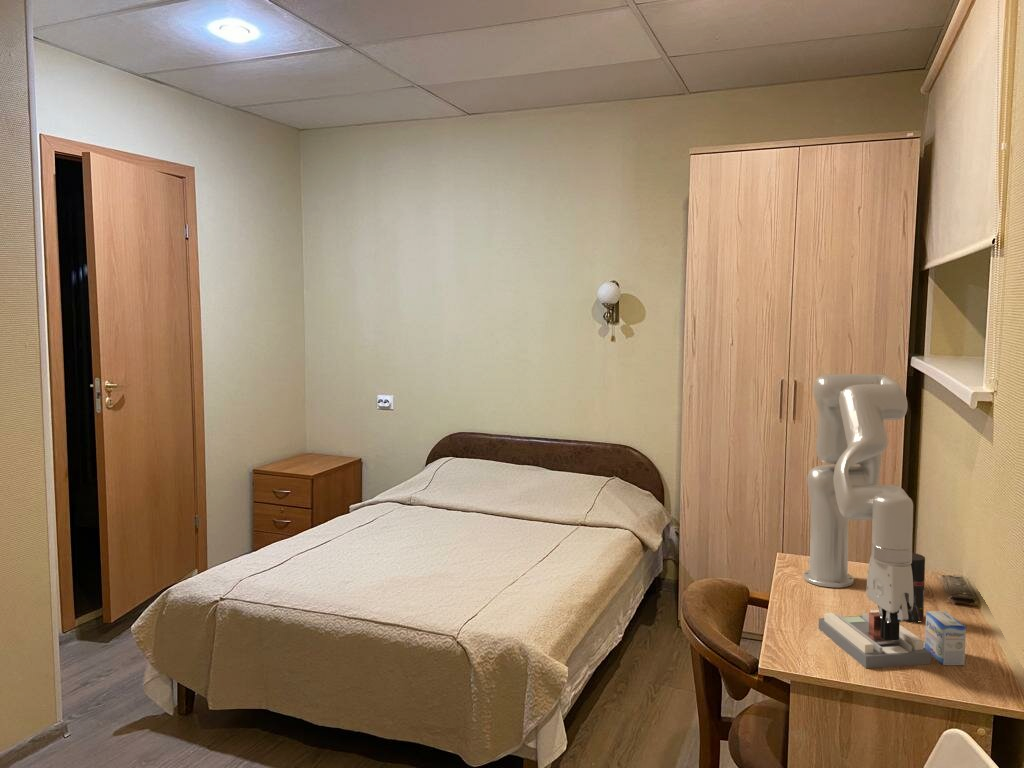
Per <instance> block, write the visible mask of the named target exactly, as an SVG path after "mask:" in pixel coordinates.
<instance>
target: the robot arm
mask: <svg viewBox="0 0 1024 768" xmlns="http://www.w3.org/2000/svg"><path fill="white" fill-rule="evenodd" d="M813 397H814V401H815V403H816V407H817V411H818V420H817V422H818V423H817V432H816V433H817V434H816V445H815V452H816V457H817V458H818V460H820V461H821V462H822V463H825V464H824V465H823V464H822V465H818V466H817V465H816V466H813V467H812V468H811V469H810V470H809V471H808V473H807V478H806V479H807V481H806V482H807V483H806V484H807V490H808V494H809V495H808V497H809V509H810V510H809V511H810V517H809V518H810V523H809V527H810V528H809V533H810V534H809V558H808V560H807V563H809V569H808V570H806V571H804V572H803V579H804V580H805V581H806V582H808V583H810V584H812V585H816V586H819V587H825V588H848V587H850V586H852V585H853V584H854V583H855V582H854V581H855V579H854V577H853V576H852V575H851V574H850V573H848V571H849V570H848V568H849V520H851V521H854V520H855V521H871V522H872V526H871V527H872V528H871V555H870V558H869V562H868V568H867V575H866V597H867V599H868V600H870V602H872V603H873V604H875V605H876V606H877V608H878V610H879V616H880V618H881V631H880V636H881V638H883V639H884V640H886V641H889V640H898V639H899V626H900V625H901V624H900V623H902V620H908V619H909V618H908V612H911V611H912V609H913V598H914V593H913V575H912V568H911V563H912V553H913V528H914V502H913V500H912V498H911V497H909V495H908V494H907V493H906V491H905V489H903V488H902V487H900V486H897V485H882V484H881V485H879V484H880V474H881V468H882V467H881V466H882V459H883V458H882V457H883V452H884V451H885V450H886V449H887V448H888V445H889V440H888V435H887V431H886V426H885V422H884V421H898V420H901V419H904V418H905V416H906V414H907V412H908V400H907V396H906V393H905V391H904V389H903V388H902V386H901V385H900V384H898V382H896V381H895V380H893V379H892V378H891V377H889V376H888V375H886V374H885V375H884V374H879V373H878V374H877V373H861V374H860V373H855V374H854V373H833V374H823V375H820V376H818V377H817V378H816V379H815V381H814V383H813ZM895 612H896V613H895Z"/></svg>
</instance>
